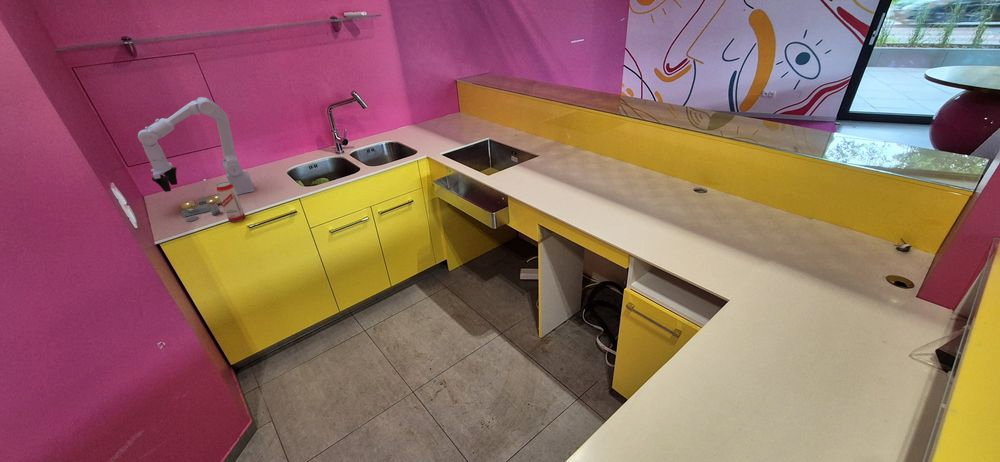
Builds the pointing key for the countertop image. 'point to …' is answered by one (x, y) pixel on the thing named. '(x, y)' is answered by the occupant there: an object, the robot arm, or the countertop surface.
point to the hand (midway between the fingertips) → (171, 187)
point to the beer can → (230, 201)
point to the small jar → (213, 206)
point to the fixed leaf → (203, 199)
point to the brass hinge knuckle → (193, 208)
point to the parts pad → (192, 219)
